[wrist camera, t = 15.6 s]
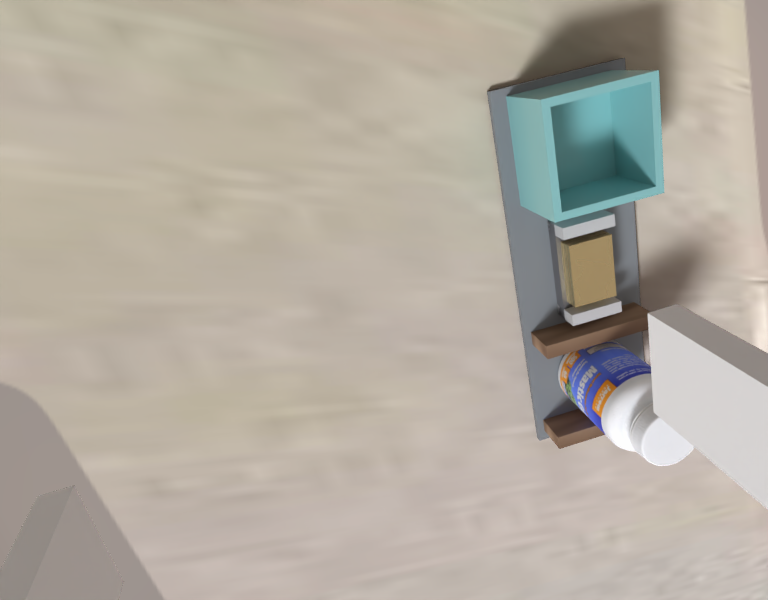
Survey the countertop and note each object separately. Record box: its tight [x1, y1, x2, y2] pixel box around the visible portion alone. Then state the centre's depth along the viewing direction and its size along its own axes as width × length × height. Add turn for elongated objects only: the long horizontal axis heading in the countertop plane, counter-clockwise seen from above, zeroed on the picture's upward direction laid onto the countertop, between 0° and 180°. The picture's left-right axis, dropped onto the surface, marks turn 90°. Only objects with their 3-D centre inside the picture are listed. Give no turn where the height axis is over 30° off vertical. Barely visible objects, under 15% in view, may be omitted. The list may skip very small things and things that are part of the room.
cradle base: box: [547, 210, 622, 326], centre depth 42 cm, size 7×4×2 cm, turn 13°
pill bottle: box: [558, 340, 694, 466], centre depth 42 cm, size 5×5×10 cm
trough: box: [531, 302, 650, 449], centre depth 45 cm, size 8×8×2 cm
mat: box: [487, 58, 644, 440], centre depth 43 cm, size 26×9×1 cm, turn 13°
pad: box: [561, 230, 617, 308], centre depth 42 cm, size 4×3×1 cm
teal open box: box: [506, 70, 664, 223], centre depth 38 cm, size 7×7×5 cm
